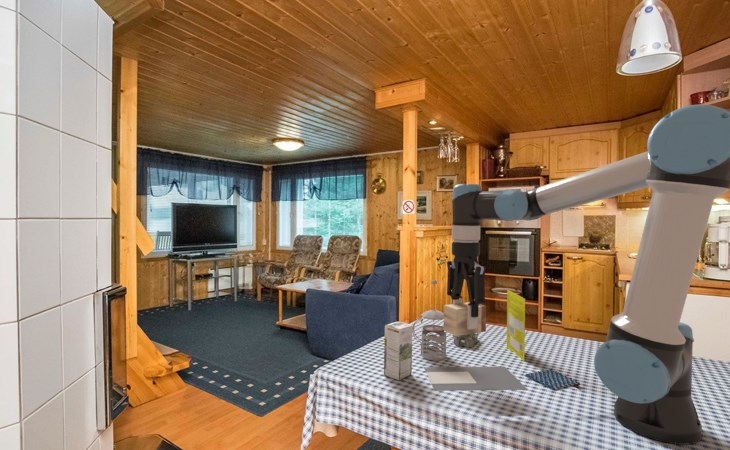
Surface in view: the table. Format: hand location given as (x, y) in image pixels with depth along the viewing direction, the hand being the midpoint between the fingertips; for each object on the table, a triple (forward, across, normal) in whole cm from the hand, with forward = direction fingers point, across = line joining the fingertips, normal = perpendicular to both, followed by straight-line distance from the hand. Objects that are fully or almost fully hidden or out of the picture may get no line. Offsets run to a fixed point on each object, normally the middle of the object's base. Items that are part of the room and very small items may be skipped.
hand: (464, 325), depth 105 cm
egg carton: (+16, +25, -21) cm, 36 cm away
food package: (+15, +8, -28) cm, 33 cm away
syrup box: (+16, +10, +15) cm, 24 cm away
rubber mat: (+15, -1, -2) cm, 15 cm away
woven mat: (+16, -11, -20) cm, 28 cm away
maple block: (+2, 0, 0) cm, 2 cm away
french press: (+16, +18, -1) cm, 23 cm away
